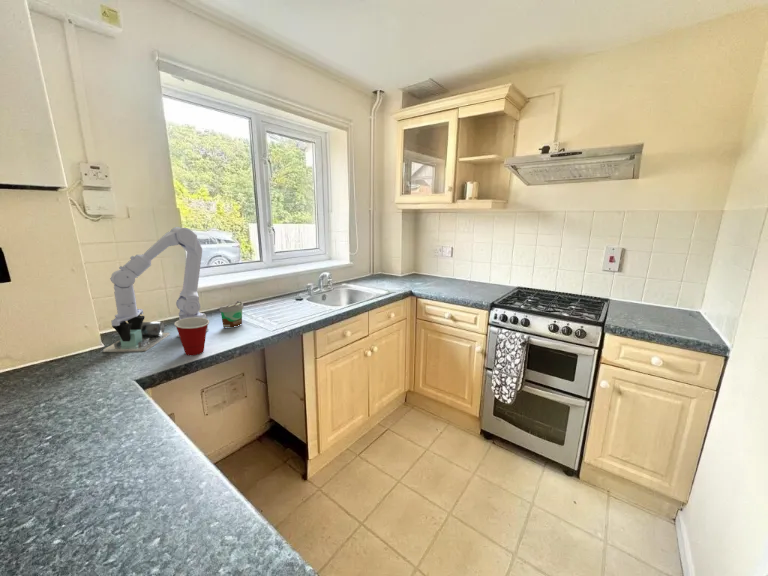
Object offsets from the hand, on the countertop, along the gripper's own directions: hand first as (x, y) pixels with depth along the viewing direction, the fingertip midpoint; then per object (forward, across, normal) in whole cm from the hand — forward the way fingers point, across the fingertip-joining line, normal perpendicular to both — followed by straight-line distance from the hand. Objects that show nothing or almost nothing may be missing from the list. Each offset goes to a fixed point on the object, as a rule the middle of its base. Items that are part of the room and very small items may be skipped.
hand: (131, 338), depth 118 cm
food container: (+4, -23, +30) cm, 38 cm away
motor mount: (+3, -4, 0) cm, 5 cm away
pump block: (+2, 0, 0) cm, 2 cm away
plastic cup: (+4, +7, +25) cm, 26 cm away
